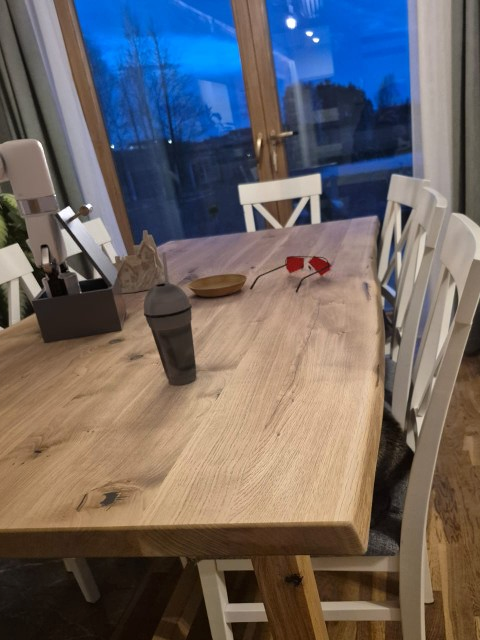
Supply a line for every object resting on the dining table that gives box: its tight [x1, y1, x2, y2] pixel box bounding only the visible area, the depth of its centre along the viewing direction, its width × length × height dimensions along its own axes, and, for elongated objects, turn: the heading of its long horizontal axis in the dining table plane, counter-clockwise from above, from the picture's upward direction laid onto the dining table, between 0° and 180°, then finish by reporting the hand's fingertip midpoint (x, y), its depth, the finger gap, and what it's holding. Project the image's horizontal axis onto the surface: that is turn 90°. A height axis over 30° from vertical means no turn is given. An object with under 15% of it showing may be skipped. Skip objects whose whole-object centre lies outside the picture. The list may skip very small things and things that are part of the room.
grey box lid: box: [55, 203, 118, 287], centre depth 120 cm, size 17×14×5 cm
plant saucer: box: [186, 273, 248, 298], centre depth 143 cm, size 15×15×3 cm
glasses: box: [249, 255, 332, 294], centre depth 142 cm, size 14×16×5 cm
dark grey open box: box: [31, 276, 128, 344], centre depth 125 cm, size 16×14×9 cm
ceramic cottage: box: [112, 230, 170, 295], centre depth 156 cm, size 16×16×15 cm
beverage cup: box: [143, 252, 198, 386], centre depth 88 cm, size 7×7×20 cm
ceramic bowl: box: [41, 271, 82, 298], centre depth 122 cm, size 7×7×5 cm
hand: (64, 293), depth 123 cm, fingers closed on ceramic bowl, 6 cm apart
